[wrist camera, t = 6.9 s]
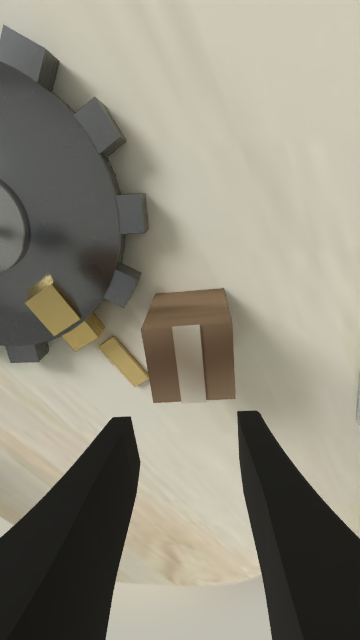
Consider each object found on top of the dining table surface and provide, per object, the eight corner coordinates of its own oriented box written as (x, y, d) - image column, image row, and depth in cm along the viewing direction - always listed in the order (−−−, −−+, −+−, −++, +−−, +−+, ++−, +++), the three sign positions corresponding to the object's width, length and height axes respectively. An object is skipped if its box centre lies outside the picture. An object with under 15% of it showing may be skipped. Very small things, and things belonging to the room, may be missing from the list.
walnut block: (226, 349, 19) (235, 400, 15) (163, 353, 20) (153, 404, 15) (223, 287, 18) (232, 323, 13) (155, 293, 18) (140, 330, 14)
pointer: (149, 376, 21) (148, 378, 20) (135, 384, 21) (134, 387, 21) (113, 335, 19) (112, 338, 19) (100, 345, 20) (98, 347, 20)
